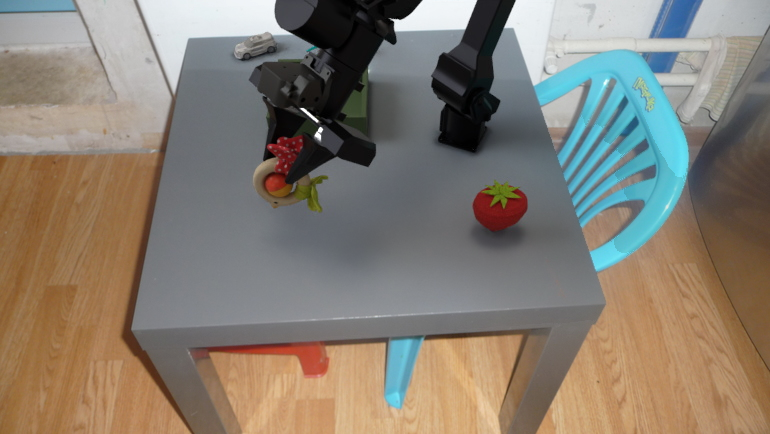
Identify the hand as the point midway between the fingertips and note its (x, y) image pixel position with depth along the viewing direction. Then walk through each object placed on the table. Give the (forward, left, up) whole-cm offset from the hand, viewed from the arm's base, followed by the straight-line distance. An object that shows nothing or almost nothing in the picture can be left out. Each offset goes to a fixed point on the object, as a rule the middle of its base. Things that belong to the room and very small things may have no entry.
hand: (276, 172), depth 72 cm
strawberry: (-25, -14, -14) cm, 32 cm away
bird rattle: (-1, -1, -7) cm, 7 cm away
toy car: (+30, -37, -13) cm, 49 cm away
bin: (+10, -27, -13) cm, 31 cm away
